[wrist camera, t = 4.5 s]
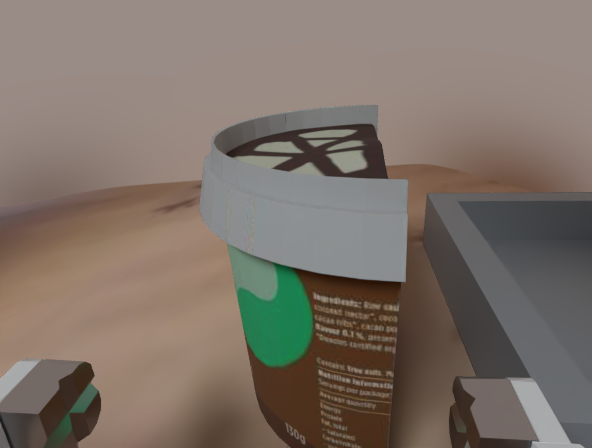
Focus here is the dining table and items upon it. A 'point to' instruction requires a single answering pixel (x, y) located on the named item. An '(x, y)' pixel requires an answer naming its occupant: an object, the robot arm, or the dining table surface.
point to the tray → (521, 290)
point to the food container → (313, 267)
